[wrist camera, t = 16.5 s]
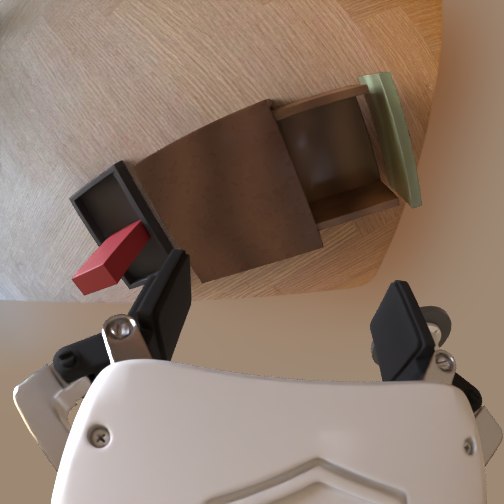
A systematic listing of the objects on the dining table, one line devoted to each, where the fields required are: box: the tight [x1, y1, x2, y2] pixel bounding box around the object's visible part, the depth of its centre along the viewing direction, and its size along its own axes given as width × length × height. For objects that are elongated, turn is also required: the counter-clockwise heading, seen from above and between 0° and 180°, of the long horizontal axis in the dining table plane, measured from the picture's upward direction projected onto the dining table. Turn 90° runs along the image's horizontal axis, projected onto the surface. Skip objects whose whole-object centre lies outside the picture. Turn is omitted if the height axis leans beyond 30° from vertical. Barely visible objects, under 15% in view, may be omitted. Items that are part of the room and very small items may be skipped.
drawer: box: [271, 71, 422, 231], centre depth 24 cm, size 14×13×7 cm
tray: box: [69, 160, 174, 289], centre depth 36 cm, size 18×11×2 cm, turn 24°
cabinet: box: [132, 99, 323, 283], centre depth 28 cm, size 14×15×9 cm
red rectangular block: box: [72, 220, 151, 296], centre depth 32 cm, size 7×3×11 cm, turn 114°
